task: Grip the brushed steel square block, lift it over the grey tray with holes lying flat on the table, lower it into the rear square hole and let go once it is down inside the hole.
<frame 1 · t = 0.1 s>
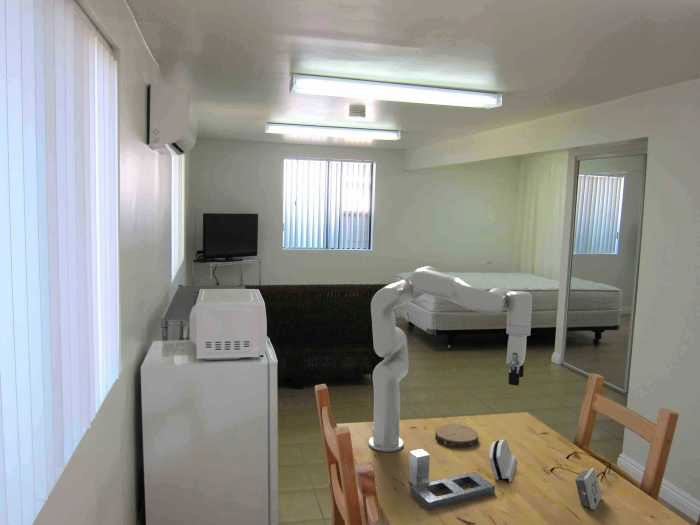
hand: (515, 380, 184), 31 cm above the table, tool pointing down, fingers open, 9 cm apart
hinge: (502, 470, 189), on the table
electrical switch: (588, 502, 169), on the table
wood slice: (456, 440, 213), on the table
grey tray with holes: (452, 494, 172), on the table
steel block: (418, 483, 179), on the table
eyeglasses: (580, 473, 188), on the table
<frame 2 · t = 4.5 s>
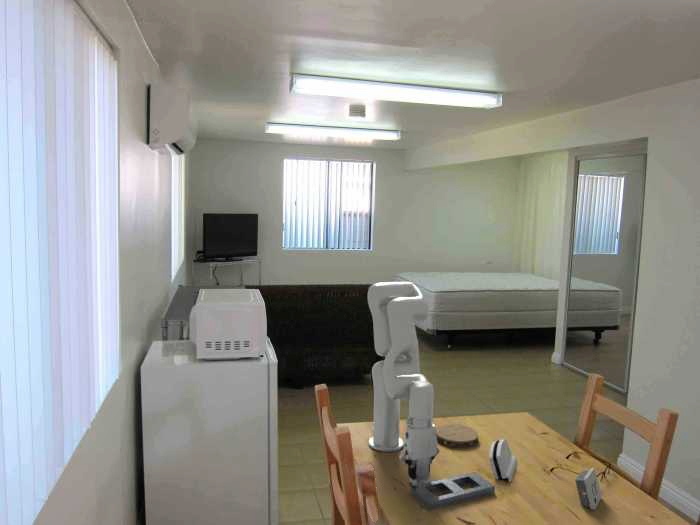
hand: (418, 475, 178), 2 cm above the table, tool pointing down, fingers closed on steel block, 4 cm apart
steel block: (418, 483, 179), on the table, touching gripper
everything else where it was.
when the fingers open (4 cm above the table, at t = 11.6 s): steel block drops 1 cm, resting in grey tray with holes.
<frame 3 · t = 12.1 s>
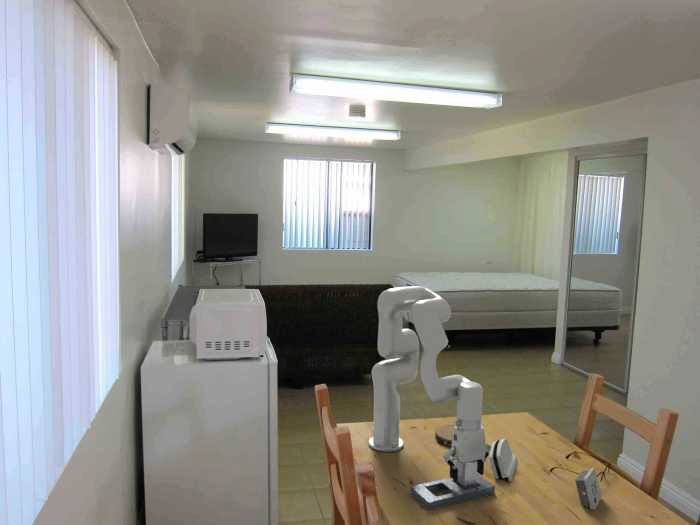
hand: (466, 476, 174), 5 cm above the table, tool pointing down, fingers open, 9 cm apart
steel block: (465, 490, 174), resting in grey tray with holes
everything else where it was.
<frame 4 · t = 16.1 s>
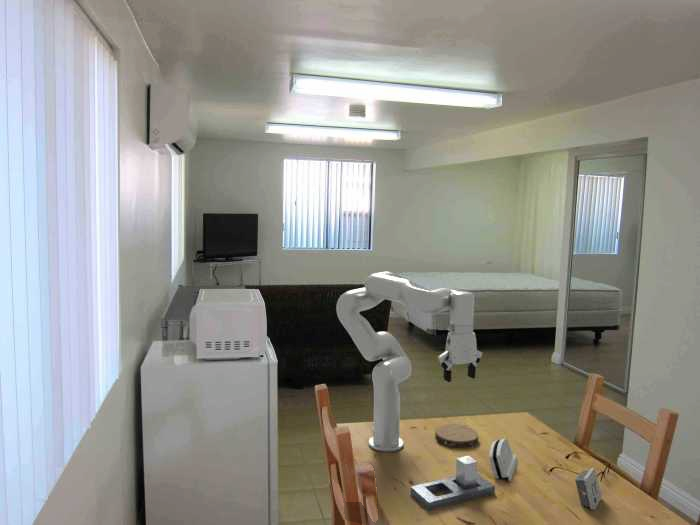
hand: (459, 379, 188), 30 cm above the table, tool pointing down, fingers open, 9 cm apart
nothing on the table moved.
at the end: steel block 0.1 cm from the target spot on the grey tray with holes, point 0.0 cm above the grey tray with holes's base; steel block tilted 0°; the gripper is holding nothing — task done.
